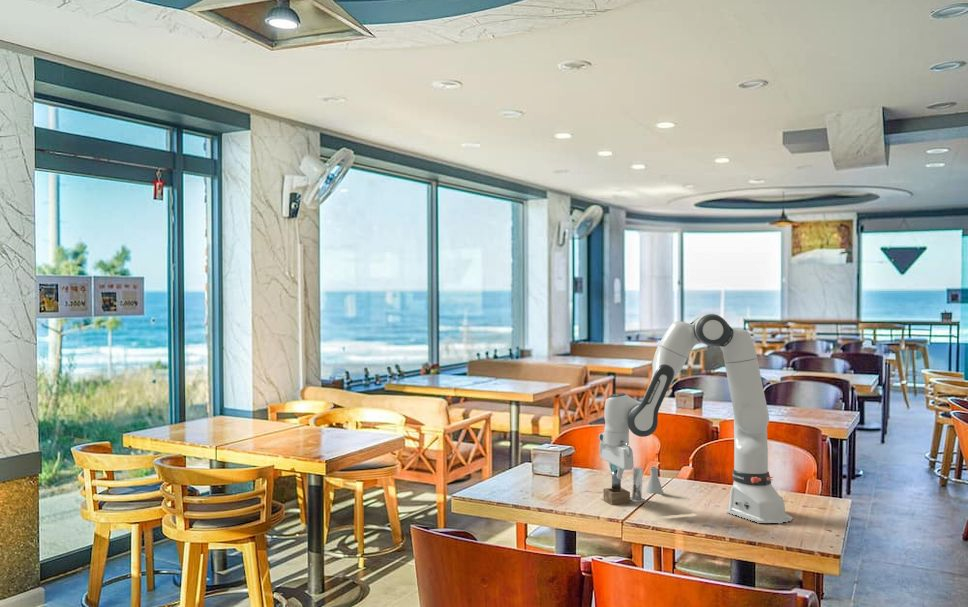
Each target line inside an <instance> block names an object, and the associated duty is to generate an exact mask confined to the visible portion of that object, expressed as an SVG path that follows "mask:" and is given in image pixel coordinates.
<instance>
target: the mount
mask: <svg viewBox="0 0 968 607" xmlns="http://www.w3.org/2000/svg"><path fill="white" fill-rule="evenodd" d="M601 501H604V503H607V504H608V505H610V506H621V505H632V504H642V503H643V504H644V503H650V501H648V500H647V499H644V498H643V497H642V499H641V500H634V499H632V496H631V492H630V491H628V490H627V489H625V488H623V487H621V489H612V487H608V488H603V498H602V499H601Z"/></svg>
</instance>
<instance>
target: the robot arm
mask: <svg viewBox="0 0 968 607" xmlns="http://www.w3.org/2000/svg"><path fill="white" fill-rule="evenodd" d="M698 344H703V345H707V346H716V347H719V348H720V349H721V352H722V356H723V360H724V361H723V362H724V366H725V368H724V369H725V372H726V378H727V384H728V388H729V394H730V399H731V404H732V405H731V406H732V410H733V438H734V439H733V441H734V442H733V445H734V446H733V448H734V450H733V452H734V454H733V459H734V460H733V461H734V462H733V464H734V465H733V466H734V468H732V480H733V483H732V486H731V488H730V492H729V500H728V501H729V503H728V508H726V511H725V512H726V514H729V513H730V514H729V515H732V514H733V516H735V515H737V516H736V517H738V516H739V517H738V518H741V517H742V518H741V519H744V518H745V519H744V520H747V519H748V520H747V521H750V520H751V521H750V522H752V521H755V522H757V523H756V524H759V523H778V524H784V523H783V522H786V523H789V522H788V521H790V522H792V521H793V520H794V518H793V516H791V515H790V514H788V513H787V512H786V506H785V504H786V503H785V501H784V498H783V497H782V496H781V495H780V494H779V493H778V492H777V490H776V489H775V488H774V486H773V485H772V481H773V478H774V477H773V476H771V475H770V472H769V471H768V470H769V467H768V466H769V463H768V462H769V456H768V454H769V448H768V446H769V445H768V444H769V443H768V425H769V423H770V416H769V409H768V405H767V400H766V395H765V390H764V386H763V385H764V384H763V381H762V376H761V370H760V364H759V360H758V355H757V350H756V347H755V344H754V341H753V338H752V335H751V333H750V332H749V331H748V330H746V329H744V328H740V327H739V328H733V327H731V326H730V324H729V323H728V322H727V321H726V320H725V319H724V318H723V317H722V316H720V315H719V314H716V313H711V312H710V313H704V314H703V315H701V316H700V315H699V317H697V318H696V319H695V320H693V321H692V322H690V323H687V322H685V321H674V322H672V323H671V324H670V325H669V327H668V328H667V329H666V331H665V332H664V333H663V336H662V337H661V340H660V341H659V344H658V345H657V347H656V349H655V352H654V356H653V359H652V373H651V374H652V375H651V380H650V382H649V385H648V387H647V389H646V392H645V393H644V395H643V398H642V399H641V401H639V400H637V399H634V398H632V397H631V396H630V395H629V394H627V393H625V392H621V393H620V392H619V393H613V394H610V395H609V396H608V397H606V399H605V403H604V411H603V413H604V416H603V417H604V422H605V424H604V430H603V432H602V433H599V434H598V440H599V456H600V459H602V460H603V461H605V462H608V466H609V471H610V475H611V476H612V464H613V465H615V466H617V469H618V471H617V473H616V478H618V479H621V480H622V479H623V473H624V471H629V470H631V471H632V470H633V468H634V453H633V449H632V448H631V446H630V432H631V433H632V434H633V435H635V436H638V437H644V438H645V437H649V436H651V435H653V433H654V432H655V431H656V430H657V428H658V422H659V421H658V420H659V419H658V415H659V410H660V408H661V406H662V403H663V401H664V400H665V396H666V395H667V393H668V390H669V388H670V386H671V385H672V383H673V382H674V380H675V379H676V378H677V376H678V375H679V373H681V370H682V369H683V367H684V366H685V364H686V362H687V360H688V358H689V356H690V354H691V353H692V352H691V351H692V350H693V348H694V347H695V346H696V345H698ZM792 519H793V520H792ZM791 520H792V521H791ZM755 522H754V523H755Z"/></svg>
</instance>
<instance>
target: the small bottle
mask: <svg viewBox="0 0 968 607" xmlns="http://www.w3.org/2000/svg"><path fill="white" fill-rule="evenodd" d="M617 471H618V469H617V466H615V465H613V464H612V475H611V488H612V489H621V488H622V479H618V478H616V473H617Z"/></svg>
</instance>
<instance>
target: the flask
mask: <svg viewBox="0 0 968 607" xmlns="http://www.w3.org/2000/svg"><path fill="white" fill-rule="evenodd" d="M649 469H650V475H649V480H648V482H647V484H646V488H645V490H644V492H646V493H647V494H653V495H654V494H659V495H660V496H663V495H664V493H665V492H664V490H663V487H662V484H661V480H660V478H659V471H658V470H659V469H660V468H659V467H658V466H650V467H649Z"/></svg>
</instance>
